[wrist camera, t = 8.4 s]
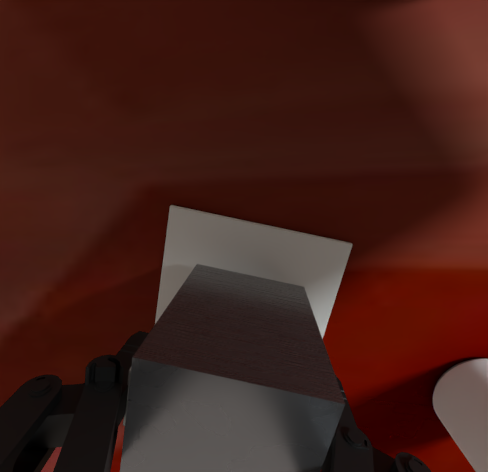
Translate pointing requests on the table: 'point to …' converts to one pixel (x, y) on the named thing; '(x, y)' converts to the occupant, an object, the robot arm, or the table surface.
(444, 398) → the can
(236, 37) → the table surface
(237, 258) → the mat
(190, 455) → the slate gray cube
